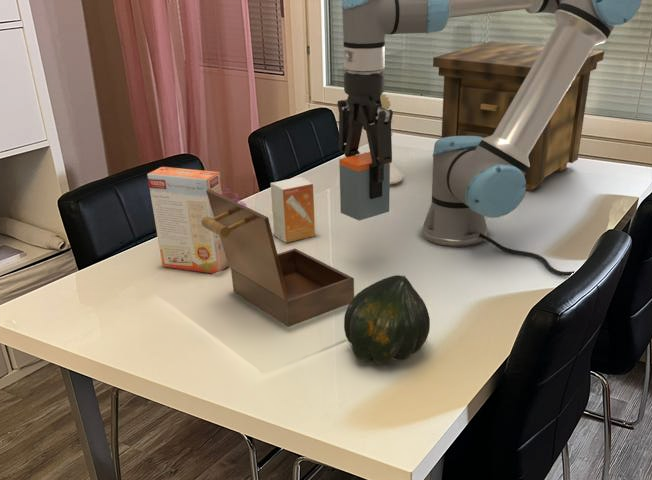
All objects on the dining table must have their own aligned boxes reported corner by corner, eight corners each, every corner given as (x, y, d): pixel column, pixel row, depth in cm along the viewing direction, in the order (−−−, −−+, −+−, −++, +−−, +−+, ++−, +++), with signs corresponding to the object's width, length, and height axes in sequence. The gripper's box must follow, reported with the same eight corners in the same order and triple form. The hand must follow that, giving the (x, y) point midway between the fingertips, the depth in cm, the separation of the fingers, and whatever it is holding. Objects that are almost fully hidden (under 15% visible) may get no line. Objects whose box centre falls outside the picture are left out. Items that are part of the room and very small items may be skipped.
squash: (315, 332, 121) (370, 281, 112) (352, 299, 133) (405, 249, 124) (372, 394, 122) (431, 348, 113) (404, 355, 134) (460, 310, 125)
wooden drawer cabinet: (586, 166, 219) (604, 50, 202) (540, 198, 195) (556, 69, 178) (483, 149, 237) (491, 41, 220) (428, 176, 212) (433, 57, 195)
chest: (296, 273, 155) (295, 248, 152) (354, 305, 142) (354, 278, 139) (233, 294, 146) (230, 268, 143) (289, 330, 133) (287, 302, 130)
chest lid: (209, 188, 133) (179, 202, 130) (268, 217, 120) (236, 232, 117) (232, 265, 143) (205, 279, 140) (288, 299, 130) (260, 314, 127)
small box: (286, 243, 169) (282, 189, 162) (273, 235, 173) (269, 182, 166) (316, 236, 172) (313, 183, 166) (303, 228, 177) (300, 176, 170)
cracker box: (231, 264, 159) (221, 170, 148) (218, 275, 154) (206, 179, 143) (176, 256, 163) (162, 164, 152) (161, 267, 158) (145, 172, 147)
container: (370, 204, 151) (370, 151, 145) (389, 211, 147) (390, 157, 142) (340, 212, 147) (339, 159, 141) (359, 220, 143) (358, 165, 137)
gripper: (316, 66, 137) (321, 185, 149) (382, 80, 125) (381, 209, 137) (347, 62, 141) (349, 178, 153) (414, 75, 129) (410, 200, 141)
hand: (364, 192), depth 145 cm, fingers closed on container, 6 cm apart
